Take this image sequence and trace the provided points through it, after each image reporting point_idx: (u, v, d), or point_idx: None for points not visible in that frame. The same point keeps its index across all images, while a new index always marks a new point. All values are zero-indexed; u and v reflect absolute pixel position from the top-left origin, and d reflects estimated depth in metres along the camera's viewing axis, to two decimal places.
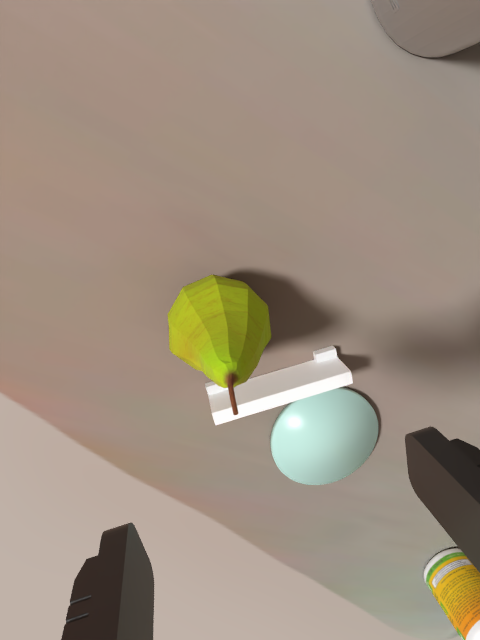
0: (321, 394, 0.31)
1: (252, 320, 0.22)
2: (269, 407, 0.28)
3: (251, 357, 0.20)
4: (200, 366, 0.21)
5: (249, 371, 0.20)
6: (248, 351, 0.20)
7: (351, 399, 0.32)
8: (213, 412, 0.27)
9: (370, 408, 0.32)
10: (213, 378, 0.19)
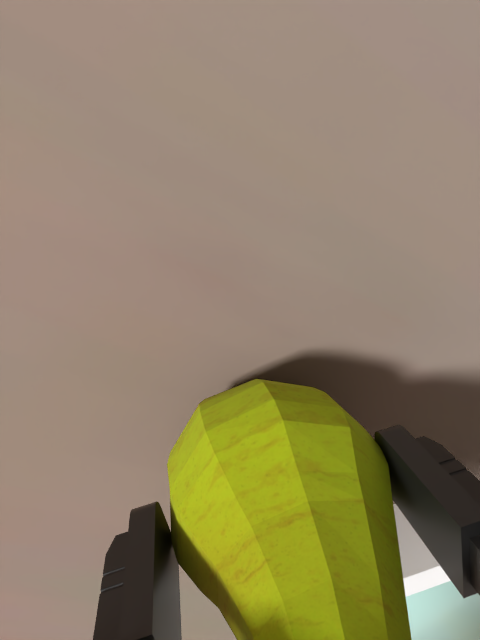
0: None
1: (376, 522, 0.09)
2: None
3: None
4: None
5: None
6: None
7: None
8: None
9: None
10: None
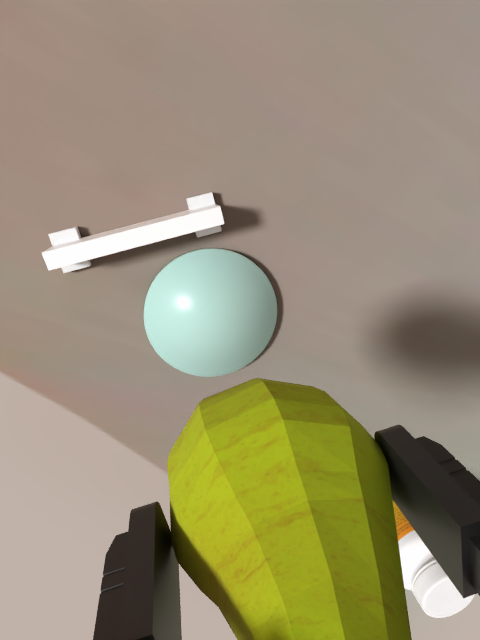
0: (200, 254, 0.26)
1: (375, 521, 0.09)
2: (118, 250, 0.22)
3: None
4: None
5: None
6: None
7: (238, 264, 0.26)
8: (44, 252, 0.22)
9: (264, 277, 0.27)
10: None
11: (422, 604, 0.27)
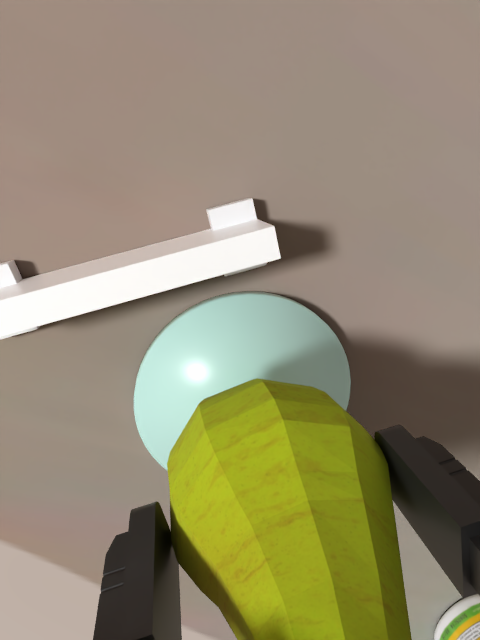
0: (229, 304, 0.15)
1: (375, 522, 0.09)
2: (80, 310, 0.12)
3: None
4: None
5: None
6: None
7: (292, 318, 0.16)
8: None
9: (333, 338, 0.16)
10: None
11: None
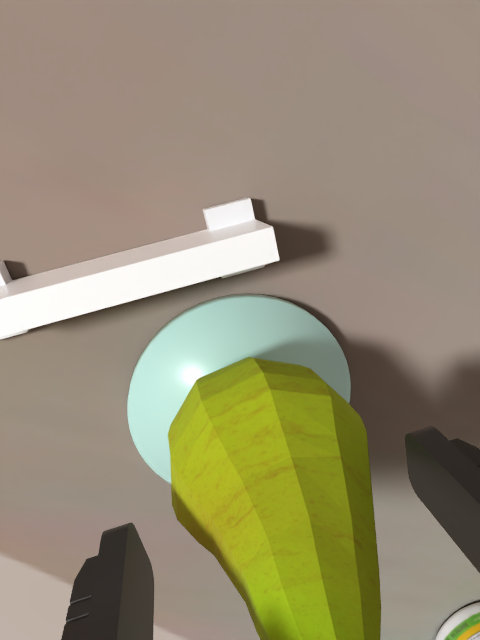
0: (226, 307, 0.15)
1: (351, 476, 0.10)
2: (71, 313, 0.11)
3: (379, 612, 0.08)
4: (244, 597, 0.09)
5: None
6: (370, 595, 0.08)
7: (291, 321, 0.15)
8: None
9: (333, 342, 0.16)
10: None
11: None
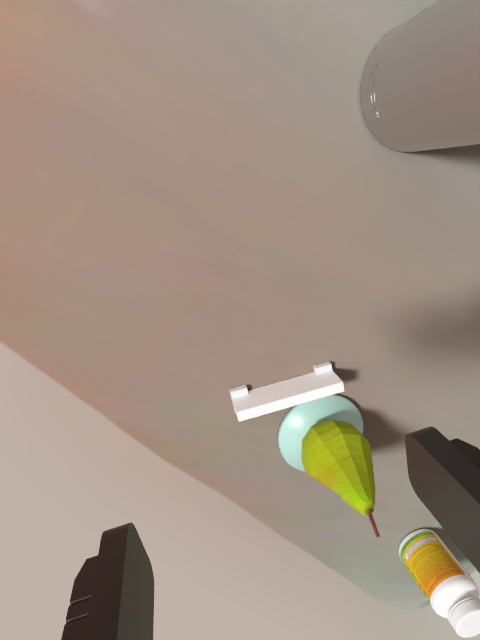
0: (319, 399, 0.39)
1: (367, 460, 0.35)
2: (280, 408, 0.36)
3: (374, 492, 0.33)
4: (337, 492, 0.34)
5: (374, 502, 0.33)
6: (372, 488, 0.33)
7: (342, 403, 0.40)
8: (237, 411, 0.35)
9: (357, 411, 0.41)
10: (354, 507, 0.32)
11: (456, 628, 0.41)
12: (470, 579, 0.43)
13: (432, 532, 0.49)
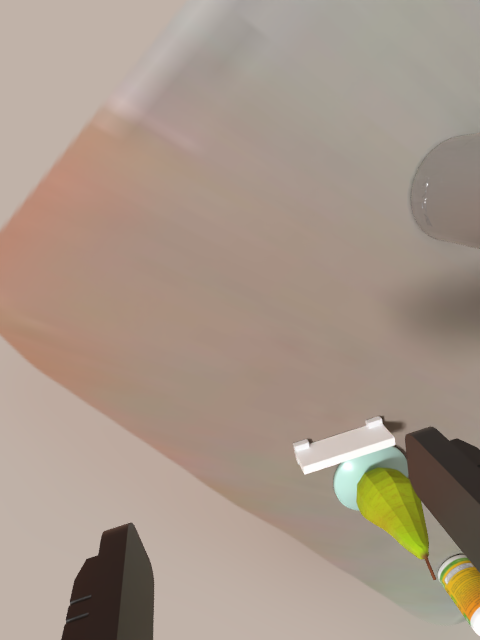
0: None
1: (418, 507, 0.40)
2: (340, 462, 0.41)
3: (427, 537, 0.38)
4: (394, 536, 0.39)
5: (428, 546, 0.38)
6: (425, 534, 0.38)
7: (390, 451, 0.45)
8: (303, 466, 0.41)
9: (403, 457, 0.46)
10: (411, 551, 0.37)
11: None
12: None
13: None
